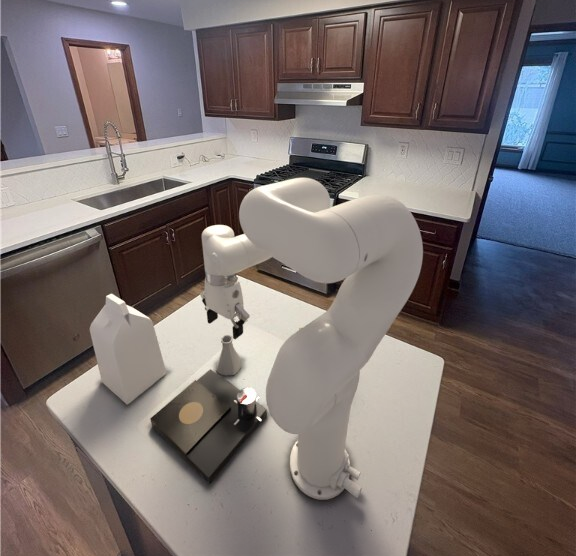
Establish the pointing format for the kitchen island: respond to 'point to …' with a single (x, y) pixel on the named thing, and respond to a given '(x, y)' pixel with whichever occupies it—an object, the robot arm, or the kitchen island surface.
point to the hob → (220, 430)
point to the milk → (126, 349)
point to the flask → (228, 358)
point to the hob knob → (246, 403)
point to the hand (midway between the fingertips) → (225, 328)
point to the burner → (190, 416)
